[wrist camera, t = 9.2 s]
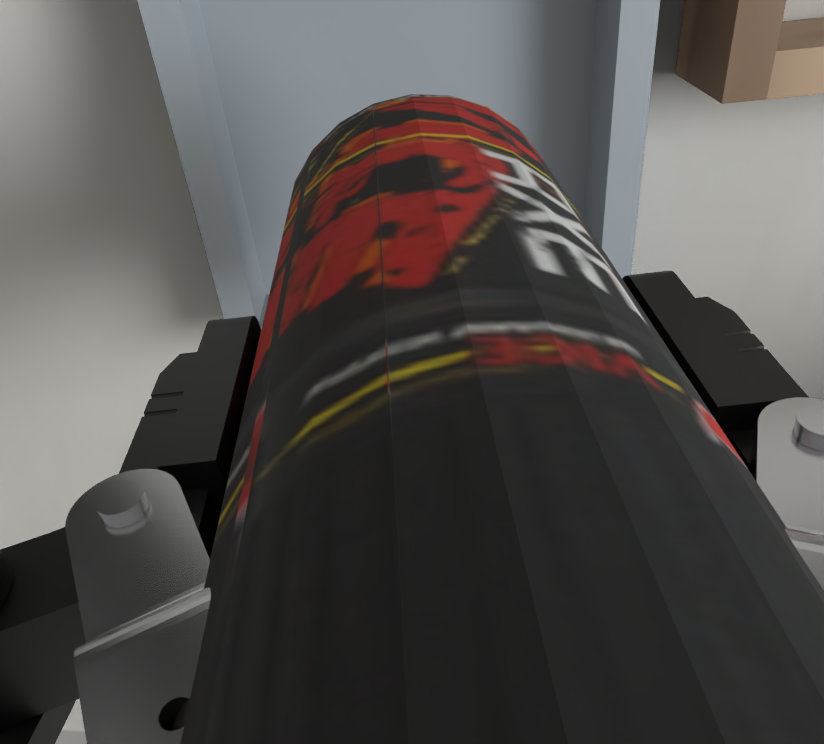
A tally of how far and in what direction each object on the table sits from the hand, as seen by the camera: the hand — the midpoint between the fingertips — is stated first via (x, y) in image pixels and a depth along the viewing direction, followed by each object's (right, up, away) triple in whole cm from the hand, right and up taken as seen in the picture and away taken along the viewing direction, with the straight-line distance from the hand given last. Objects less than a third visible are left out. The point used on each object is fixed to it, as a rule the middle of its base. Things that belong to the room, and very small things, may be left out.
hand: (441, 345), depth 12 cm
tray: (-1, +8, +10) cm, 13 cm away
